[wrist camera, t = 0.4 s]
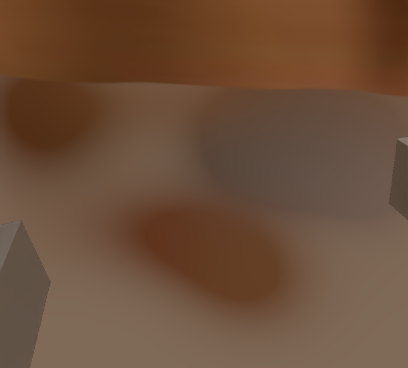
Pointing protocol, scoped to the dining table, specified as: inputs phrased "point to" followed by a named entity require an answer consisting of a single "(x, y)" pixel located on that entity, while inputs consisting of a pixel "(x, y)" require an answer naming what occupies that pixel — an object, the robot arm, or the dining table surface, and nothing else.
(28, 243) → the robot arm
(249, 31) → the dining table surface
